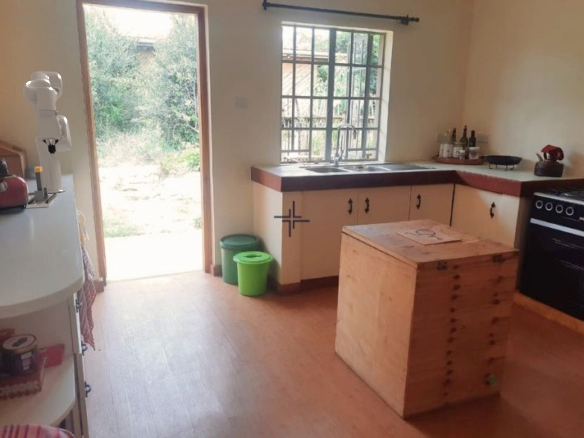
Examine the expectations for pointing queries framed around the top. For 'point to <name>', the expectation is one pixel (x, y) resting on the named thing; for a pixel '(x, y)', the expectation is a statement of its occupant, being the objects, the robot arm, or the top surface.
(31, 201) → the panel
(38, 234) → the top surface
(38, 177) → the lever
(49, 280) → the top surface
